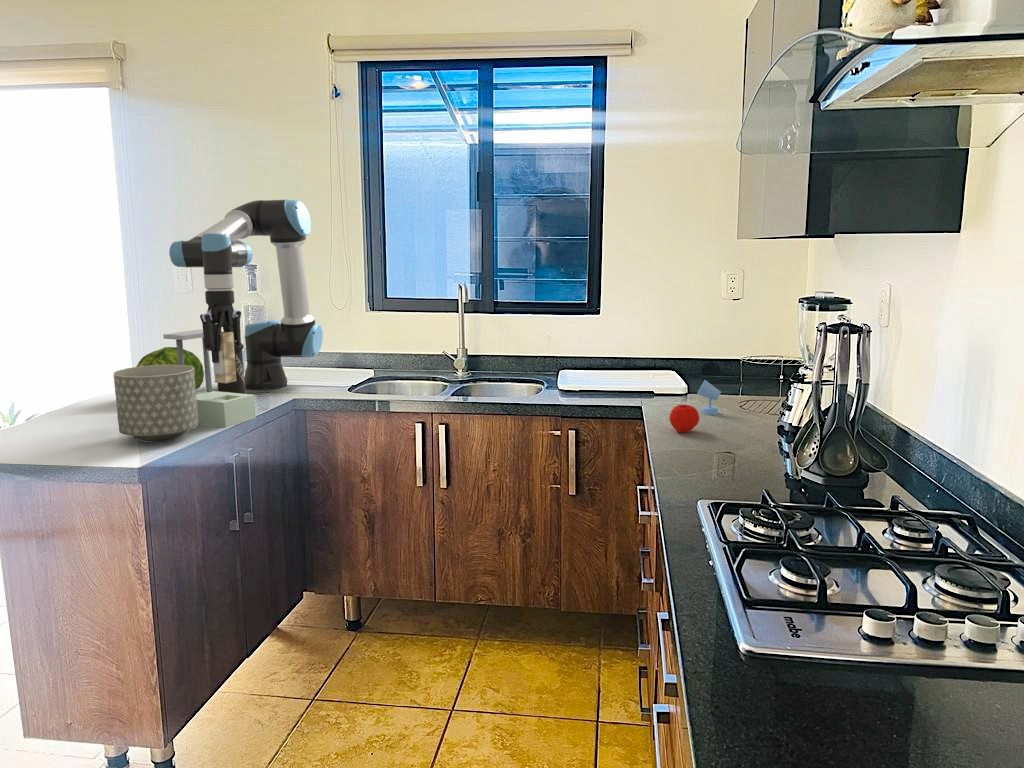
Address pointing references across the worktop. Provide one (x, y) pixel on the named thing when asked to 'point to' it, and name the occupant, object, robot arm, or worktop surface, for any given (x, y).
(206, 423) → the socket station
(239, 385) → the container
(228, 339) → the peg
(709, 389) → the spotlight
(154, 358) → the lettuce
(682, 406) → the apple
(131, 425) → the planter
